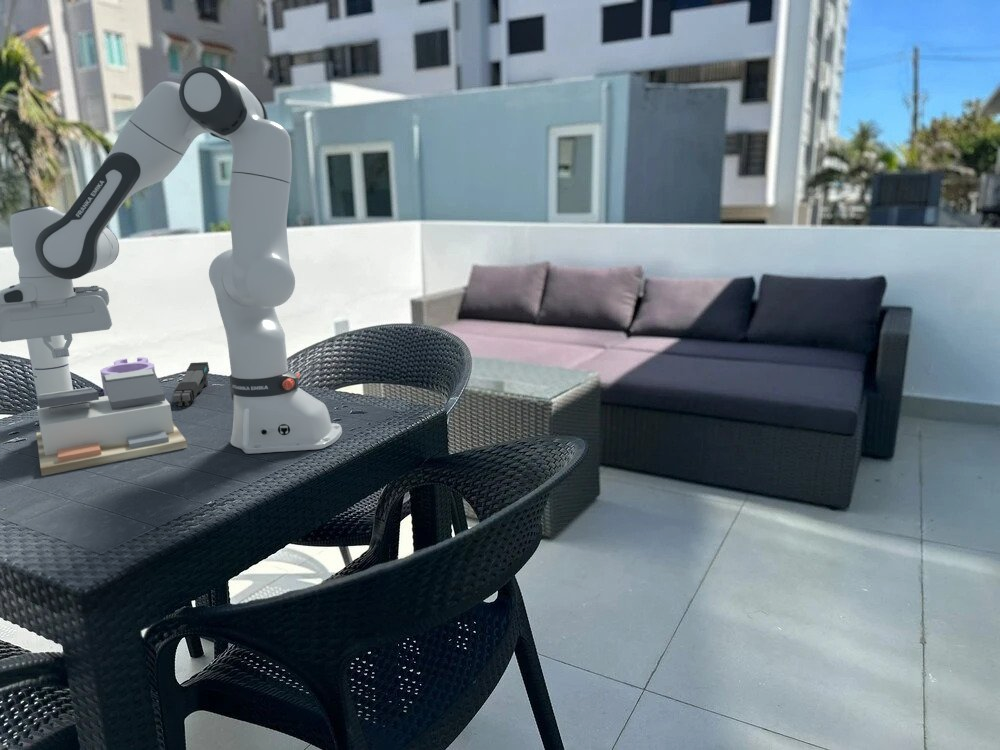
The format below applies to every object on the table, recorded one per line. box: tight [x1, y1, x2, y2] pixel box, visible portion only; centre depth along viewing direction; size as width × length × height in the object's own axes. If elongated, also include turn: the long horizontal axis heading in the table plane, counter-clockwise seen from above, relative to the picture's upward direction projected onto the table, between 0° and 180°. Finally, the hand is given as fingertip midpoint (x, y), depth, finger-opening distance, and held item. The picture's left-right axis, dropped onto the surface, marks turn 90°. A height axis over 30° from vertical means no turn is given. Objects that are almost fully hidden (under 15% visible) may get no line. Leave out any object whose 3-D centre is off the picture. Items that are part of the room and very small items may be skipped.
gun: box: [172, 361, 210, 407], centre depth 180 cm, size 4×20×10 cm, turn 8°
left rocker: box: [37, 386, 100, 408], centre depth 143 cm, size 12×10×2 cm
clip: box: [99, 356, 156, 396], centre depth 186 cm, size 20×12×7 cm, turn 22°
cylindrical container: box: [26, 335, 74, 405], centre depth 160 cm, size 7×7×25 cm
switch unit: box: [36, 396, 188, 477], centre depth 145 cm, size 25×25×9 cm
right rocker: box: [102, 369, 166, 409], centre depth 149 cm, size 12×10×2 cm
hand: (61, 356), depth 144 cm, fingers closed
